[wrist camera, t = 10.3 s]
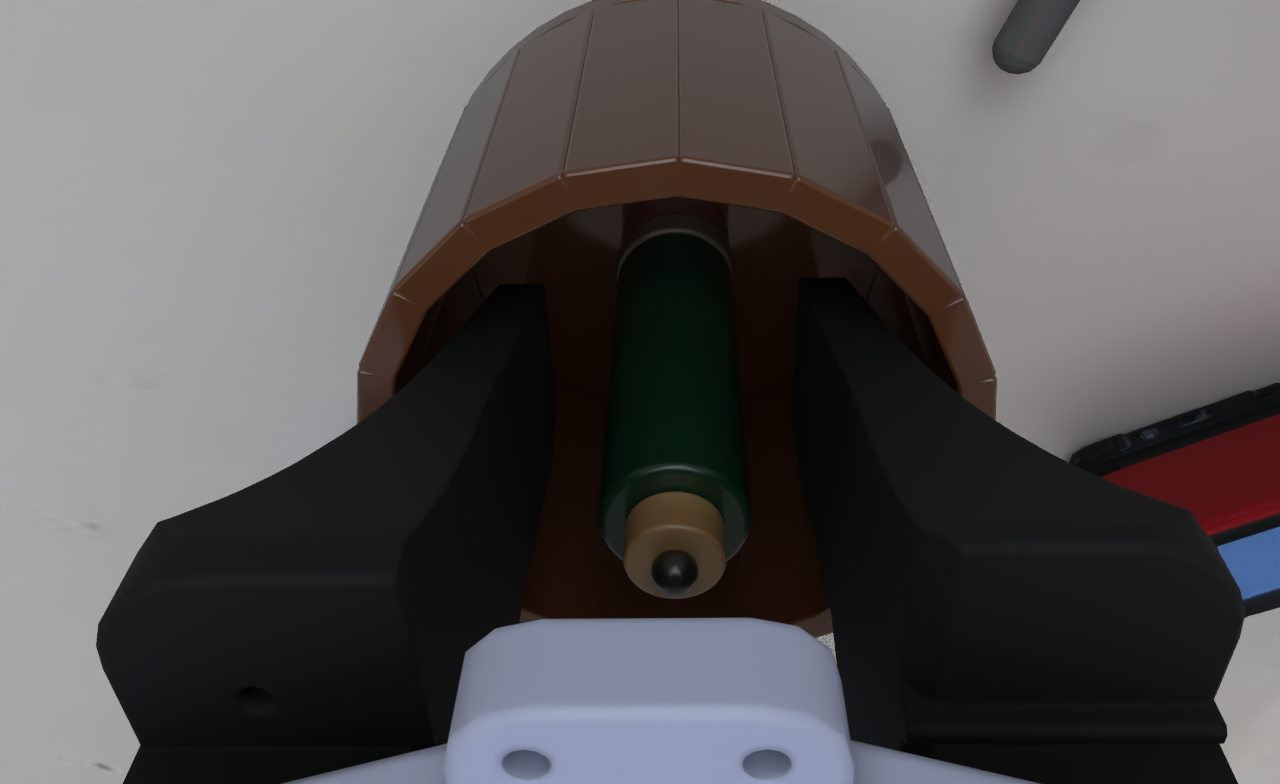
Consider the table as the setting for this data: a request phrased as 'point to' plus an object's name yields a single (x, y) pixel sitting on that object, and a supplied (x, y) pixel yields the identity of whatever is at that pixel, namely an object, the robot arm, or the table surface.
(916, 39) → the table surface
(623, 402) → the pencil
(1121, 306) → the table surface
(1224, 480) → the handheld console
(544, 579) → the pencil cup
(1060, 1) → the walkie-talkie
